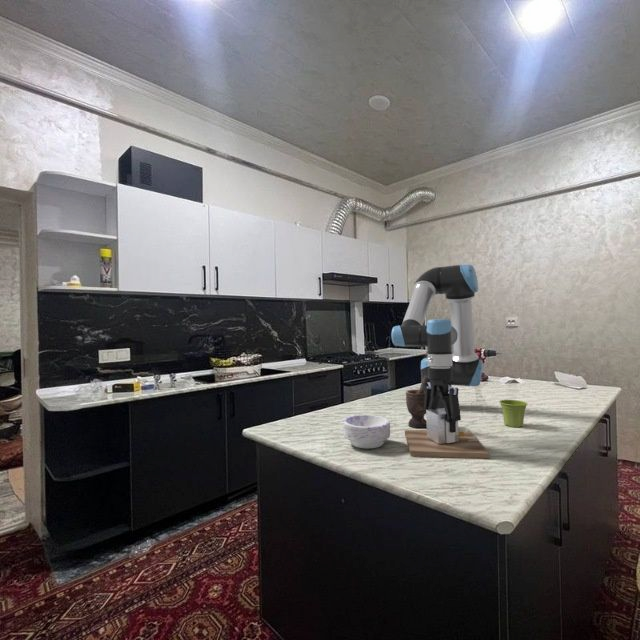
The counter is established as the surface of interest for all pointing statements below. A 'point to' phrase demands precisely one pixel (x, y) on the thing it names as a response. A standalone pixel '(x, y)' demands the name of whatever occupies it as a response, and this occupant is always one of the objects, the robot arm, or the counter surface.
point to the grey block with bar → (439, 426)
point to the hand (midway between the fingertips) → (441, 438)
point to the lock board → (444, 446)
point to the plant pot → (513, 412)
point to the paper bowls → (366, 430)
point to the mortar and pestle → (417, 405)
